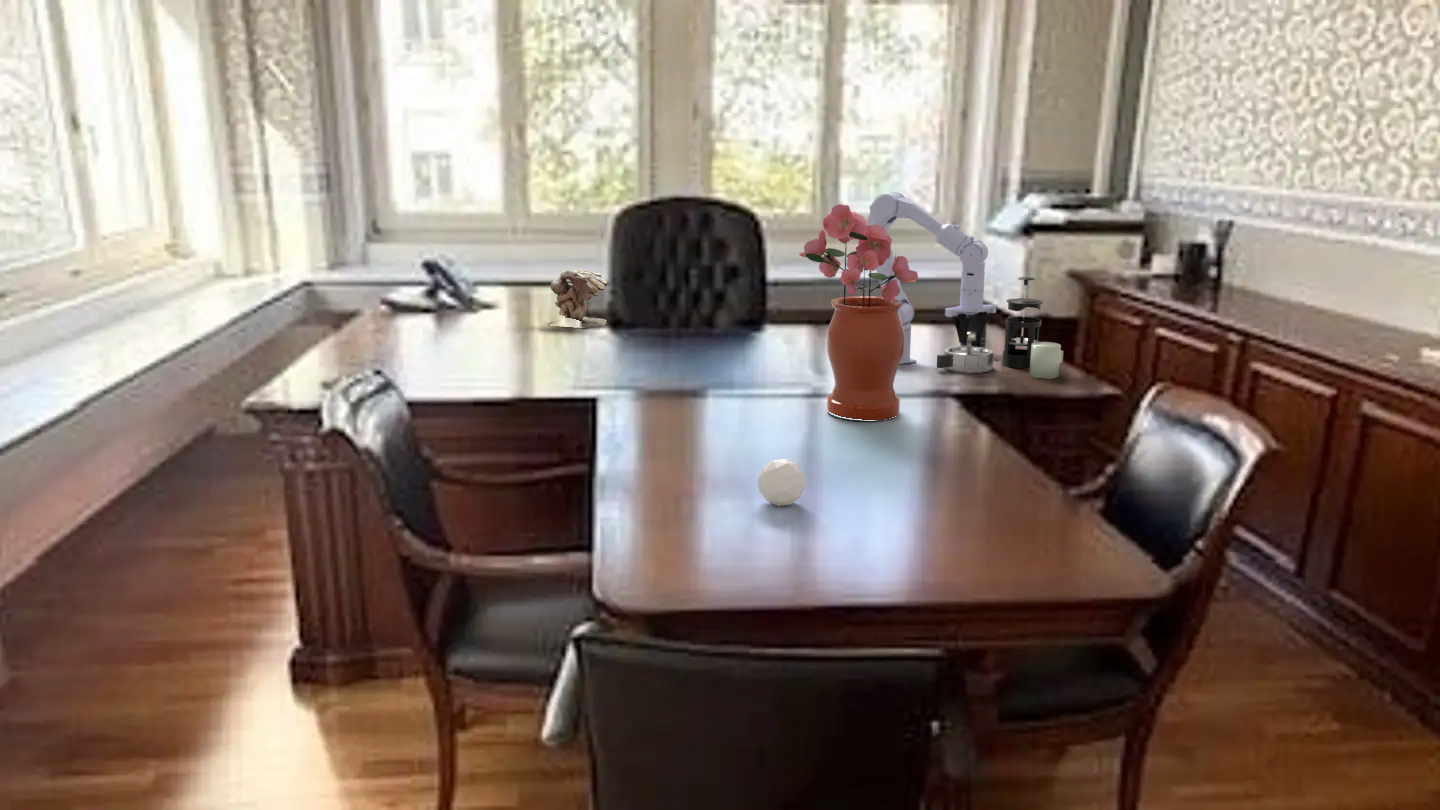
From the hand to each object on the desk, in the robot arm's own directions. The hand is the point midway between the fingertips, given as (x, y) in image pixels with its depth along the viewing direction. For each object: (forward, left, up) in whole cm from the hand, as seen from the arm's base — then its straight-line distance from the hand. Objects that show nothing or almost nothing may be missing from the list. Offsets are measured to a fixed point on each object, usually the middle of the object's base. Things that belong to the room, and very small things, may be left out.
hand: (969, 342), depth 270 cm
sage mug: (+12, -15, -7) cm, 20 cm away
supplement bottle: (+13, +15, -7) cm, 21 cm away
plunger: (0, 0, -4) cm, 4 cm away
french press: (+15, -2, -7) cm, 17 cm away
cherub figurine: (-72, +106, -7) cm, 128 cm away
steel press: (-2, 0, -7) cm, 7 cm away
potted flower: (-48, -24, -7) cm, 54 cm away
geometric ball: (-90, -69, -7) cm, 114 cm away
